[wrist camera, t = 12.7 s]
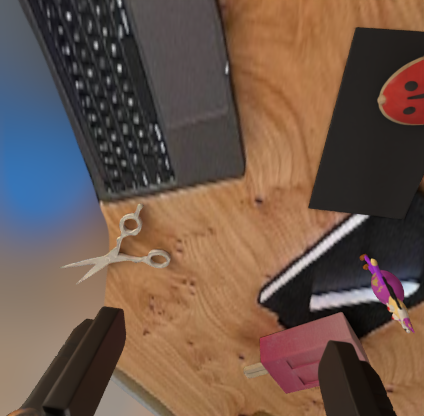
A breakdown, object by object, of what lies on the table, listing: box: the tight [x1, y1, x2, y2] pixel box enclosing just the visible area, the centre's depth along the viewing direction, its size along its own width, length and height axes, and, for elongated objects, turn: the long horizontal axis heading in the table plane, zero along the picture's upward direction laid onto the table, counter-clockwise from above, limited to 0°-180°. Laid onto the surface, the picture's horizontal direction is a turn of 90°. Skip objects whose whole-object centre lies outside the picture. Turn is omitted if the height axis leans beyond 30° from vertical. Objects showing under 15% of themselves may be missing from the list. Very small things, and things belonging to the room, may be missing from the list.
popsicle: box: [244, 312, 370, 394], centre depth 46 cm, size 9×5×20 cm
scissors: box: [61, 203, 171, 284], centre depth 43 cm, size 11×1×20 cm
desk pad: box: [309, 27, 424, 219], centre depth 31 cm, size 20×12×1 cm, turn 176°
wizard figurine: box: [360, 254, 414, 333], centre depth 33 cm, size 11×3×12 cm, turn 32°
